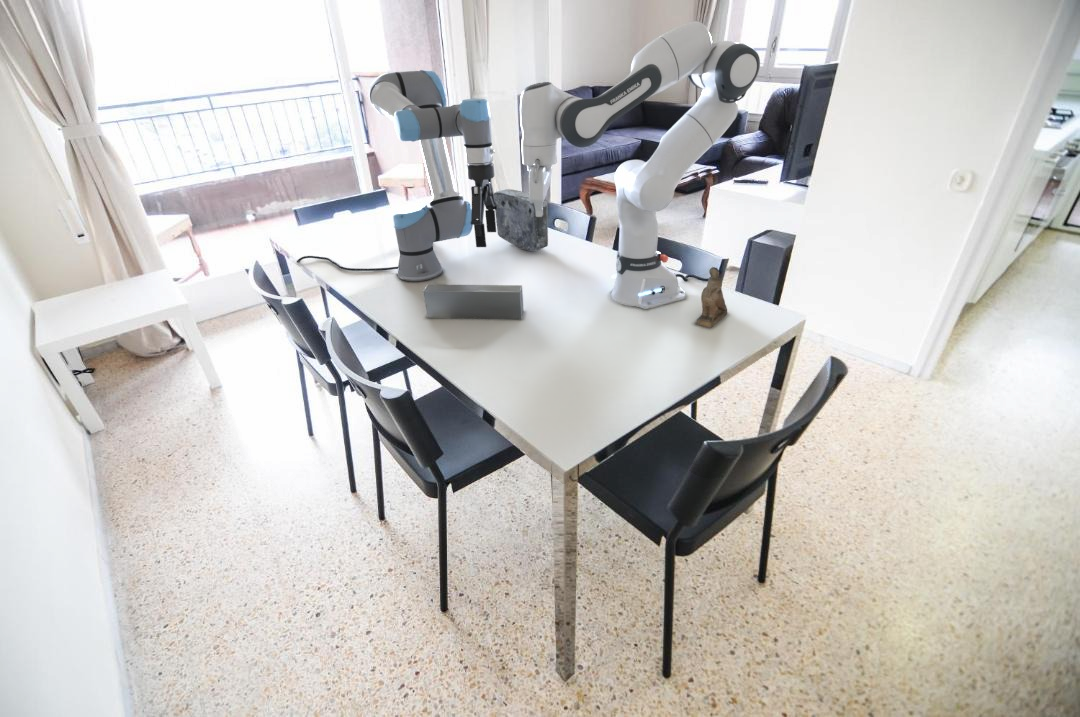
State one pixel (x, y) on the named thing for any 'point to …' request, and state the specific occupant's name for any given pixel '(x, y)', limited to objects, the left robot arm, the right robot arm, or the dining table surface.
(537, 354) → the dining table surface
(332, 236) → the dining table surface
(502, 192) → the concrete block
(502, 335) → the dining table surface
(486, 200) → the left robot arm
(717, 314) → the brown carved statuette
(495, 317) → the bar
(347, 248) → the dining table surface
